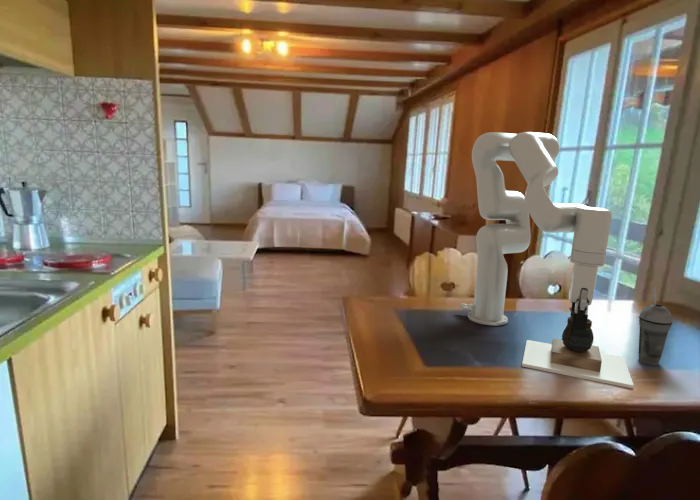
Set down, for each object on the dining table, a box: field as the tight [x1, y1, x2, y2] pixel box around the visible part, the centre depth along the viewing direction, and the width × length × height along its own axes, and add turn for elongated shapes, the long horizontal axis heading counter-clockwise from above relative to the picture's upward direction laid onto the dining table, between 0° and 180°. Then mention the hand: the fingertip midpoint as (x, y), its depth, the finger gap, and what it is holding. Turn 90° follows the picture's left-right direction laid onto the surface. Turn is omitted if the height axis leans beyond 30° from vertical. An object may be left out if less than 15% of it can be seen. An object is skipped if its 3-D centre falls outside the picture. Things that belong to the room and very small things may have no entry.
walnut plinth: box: [551, 338, 602, 372], centre depth 115 cm, size 11×10×3 cm
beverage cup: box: [638, 287, 673, 366], centre depth 116 cm, size 7×7×20 cm
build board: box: [521, 339, 635, 389], centre depth 115 cm, size 24×18×1 cm
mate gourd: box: [561, 307, 594, 352], centre depth 114 cm, size 7×8×10 cm
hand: (577, 322), depth 114 cm, fingers open, 9 cm apart
